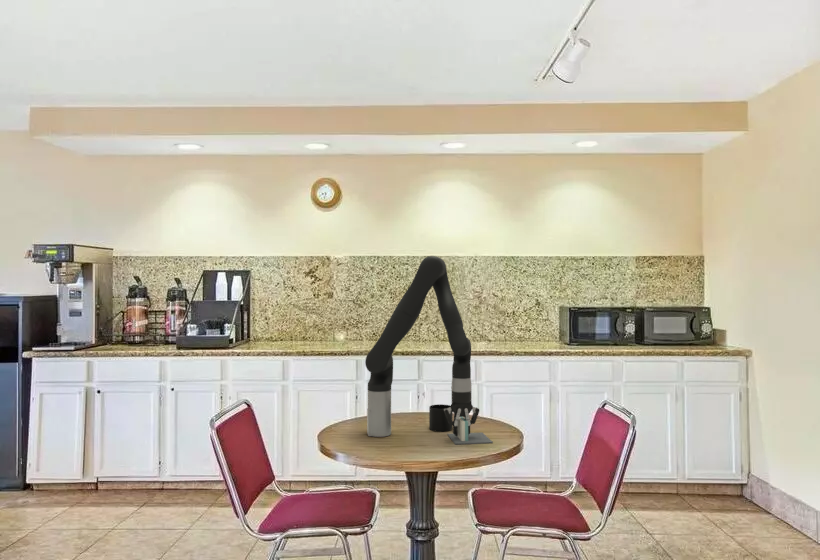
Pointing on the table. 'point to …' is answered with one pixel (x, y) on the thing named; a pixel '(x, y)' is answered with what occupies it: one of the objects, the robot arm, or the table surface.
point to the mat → (471, 439)
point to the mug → (439, 418)
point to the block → (462, 429)
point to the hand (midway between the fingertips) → (461, 435)
